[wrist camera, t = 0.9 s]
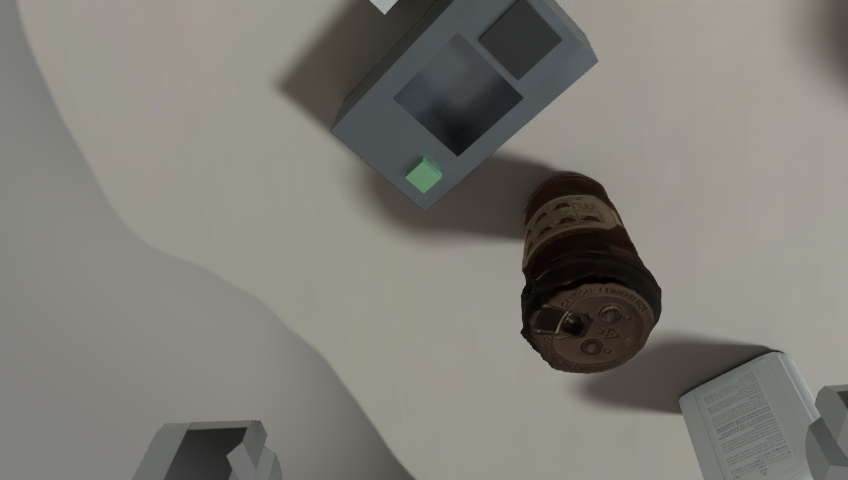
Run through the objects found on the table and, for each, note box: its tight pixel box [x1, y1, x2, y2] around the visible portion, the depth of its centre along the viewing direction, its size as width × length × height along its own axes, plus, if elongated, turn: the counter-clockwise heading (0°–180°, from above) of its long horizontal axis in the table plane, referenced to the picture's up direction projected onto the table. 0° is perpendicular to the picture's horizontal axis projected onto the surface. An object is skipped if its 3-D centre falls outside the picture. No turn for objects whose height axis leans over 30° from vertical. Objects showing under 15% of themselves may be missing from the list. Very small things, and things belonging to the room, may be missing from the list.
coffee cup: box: [521, 175, 662, 374], centre depth 41 cm, size 9×8×13 cm
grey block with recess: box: [330, 0, 598, 211], centre depth 38 cm, size 14×8×6 cm, turn 137°
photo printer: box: [679, 352, 821, 480], centre depth 50 cm, size 10×4×12 cm, turn 136°
